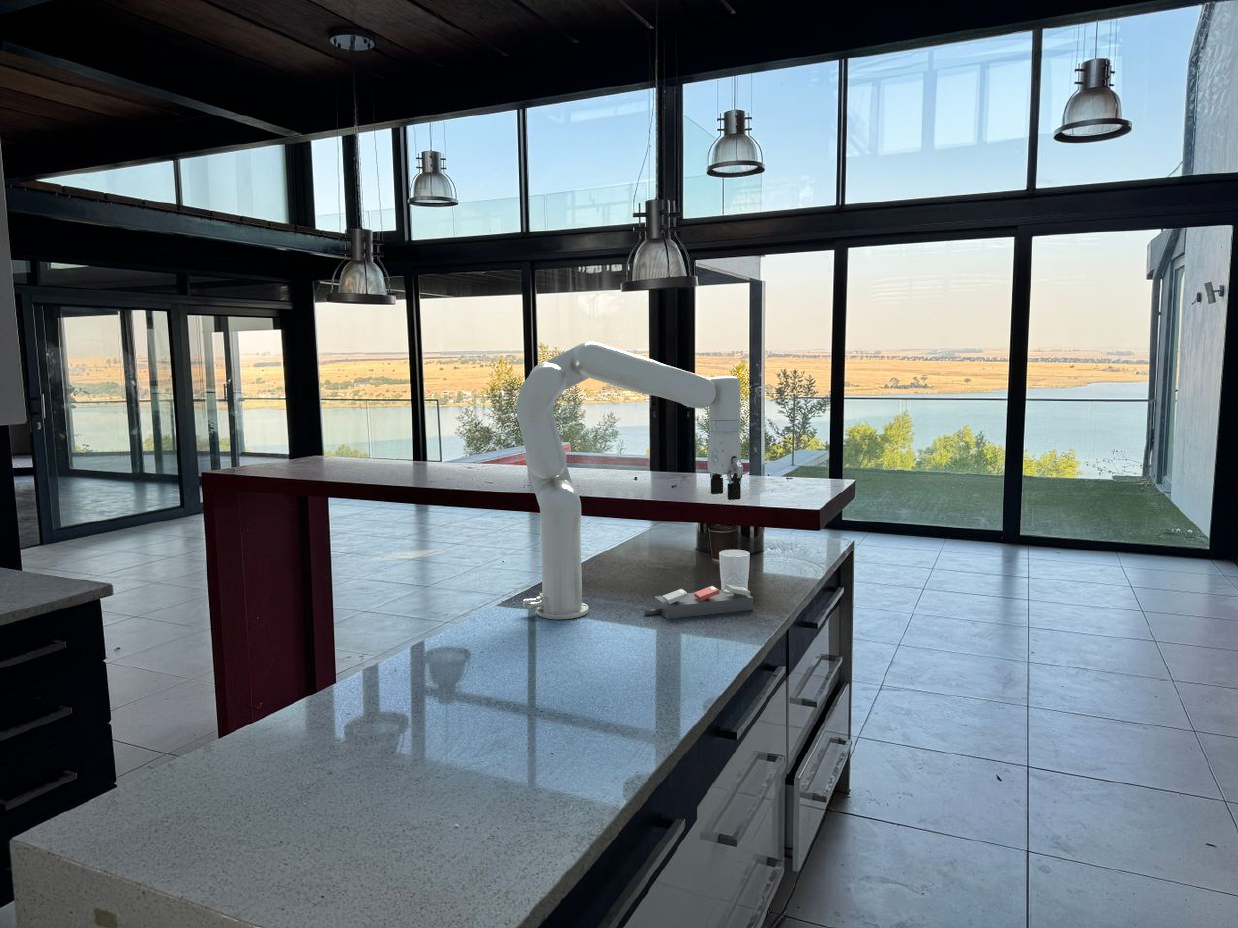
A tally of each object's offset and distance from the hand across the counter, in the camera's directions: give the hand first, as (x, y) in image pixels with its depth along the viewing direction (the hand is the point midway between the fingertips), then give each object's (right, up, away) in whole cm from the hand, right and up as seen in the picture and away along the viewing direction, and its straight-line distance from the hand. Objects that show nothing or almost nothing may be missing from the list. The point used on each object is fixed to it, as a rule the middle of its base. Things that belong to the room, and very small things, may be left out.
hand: (725, 496), depth 211 cm
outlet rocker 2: (-5, -23, -5) cm, 24 cm away
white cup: (+4, -25, +14) cm, 29 cm away
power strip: (-7, -27, -3) cm, 29 cm away
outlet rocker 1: (-13, -23, -7) cm, 28 cm away
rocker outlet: (+3, -23, -3) cm, 23 cm away
